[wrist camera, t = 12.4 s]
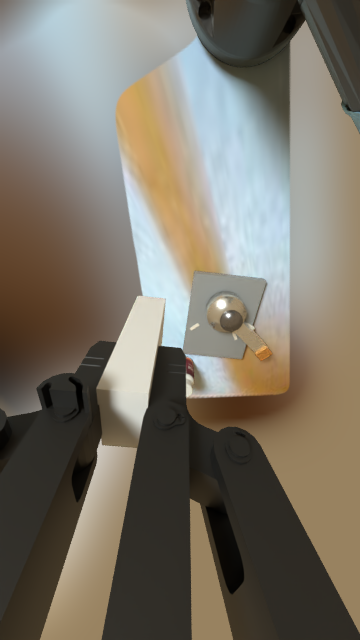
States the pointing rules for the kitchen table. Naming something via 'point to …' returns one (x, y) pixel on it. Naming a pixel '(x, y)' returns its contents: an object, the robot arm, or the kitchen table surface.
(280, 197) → the kitchen table surface
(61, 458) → the robot arm
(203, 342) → the stand board
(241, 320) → the silver ladle
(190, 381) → the pill bottle
